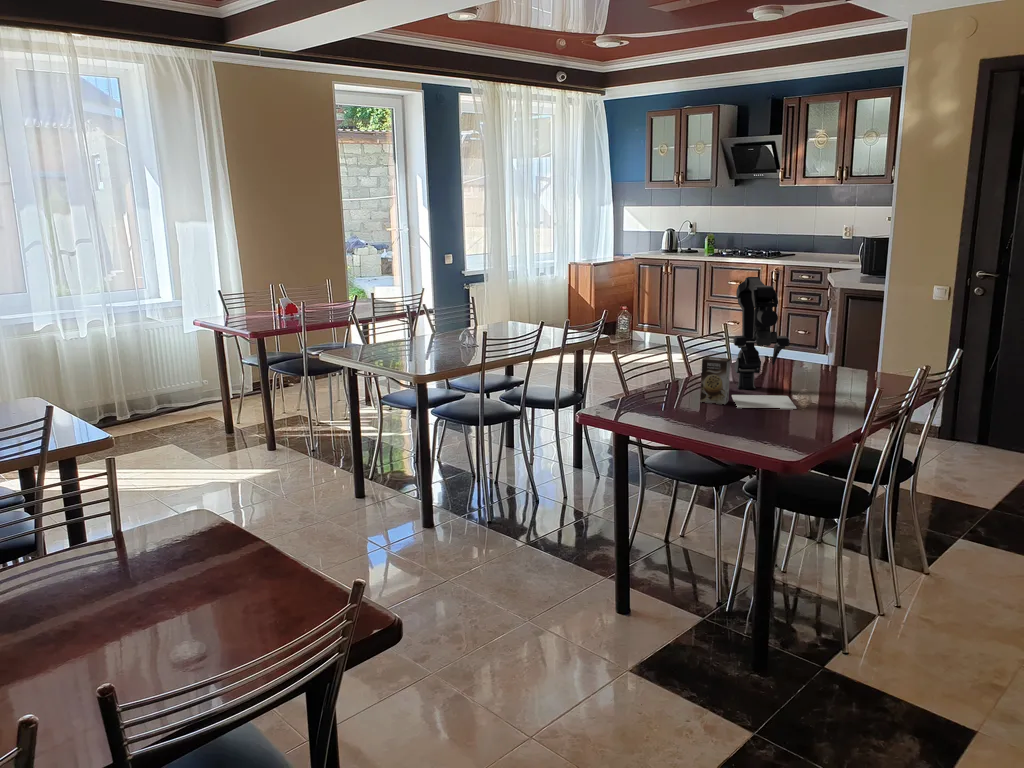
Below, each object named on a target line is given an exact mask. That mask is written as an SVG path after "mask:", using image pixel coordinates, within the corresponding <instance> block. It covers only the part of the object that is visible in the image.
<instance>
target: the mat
mask: <svg viewBox="0 0 1024 768" xmlns="http://www.w3.org/2000/svg"><path fill="white" fill-rule="evenodd" d="M731 398H732V401H733V402H735V403H734V405H735V404H736V405H735V406H737V407H736V409H742V408H780V409H779V410H793V409H797V406H796V405H795V404H794V402H793V400H791V398H790V397H789V396H788V395H765V394H764V395H763V394H761V395H760V394H731Z"/></svg>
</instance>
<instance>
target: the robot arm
mask: <svg viewBox="0 0 1024 768" xmlns="http://www.w3.org/2000/svg"><path fill="white" fill-rule="evenodd" d="M735 296H736V299H737V304H738V305H739V307H740V308H741V314H742V315H741V316H742V317H741V319H742V320H741V323H742V325H741V326H742V327H741V328H742V329H741V331H742V333H741V334H742V335H734V336H733V342H732V343H733V345H734V346H736V347H737V348H739V349H740V350H739V352H738V353H737V358H736V360H735V363H734V371H735V373H736V374H738V384H736V387H737V388H738V389H739V390H756V386H755V374H759V373H760V371H761V364H762V360H761V358H760V356H759V355H760V352H759V351H758V350H757V348H756V347H755V344H756V346H758V347H761V346H766V347H770V346H772V345H771V344H773V345H774V346H773V352H772V353H773V355H772V360H771V361H772V362H771V363H772V365H773V366H774V365H775V363H776V360H777V358H778V356H779V354H780V353H781V351H782V350H784V349H786V347H790V339H789V337H788V336H786V335H778V332H777V331H771V327H773V326H775V325H776V324H777V322H778V320H779V316H778V314H777V312H776V311H774V310H773V308H777V307H778V305H779V298H778V294H777V291H776V289H775V288H774V287H773V285H766V284H764V282H763V281H761V278H760V277H759V276H747V277H745V279H744V280H743V281H742V282H740V283H739V284H738V286H737V289H736V293H735Z"/></svg>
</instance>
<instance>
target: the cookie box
mask: <svg viewBox="0 0 1024 768" xmlns="http://www.w3.org/2000/svg"><path fill="white" fill-rule="evenodd" d="M730 374H731V358H729V357H715V356H705V357H704V358H702V359H701V378H700V379H701V382H700V383H701V384H700V403H702V402H705V404H712V403H716V405H722V404H724V406H725V405H726V404H727V403H728V402H729V394H730Z"/></svg>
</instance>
